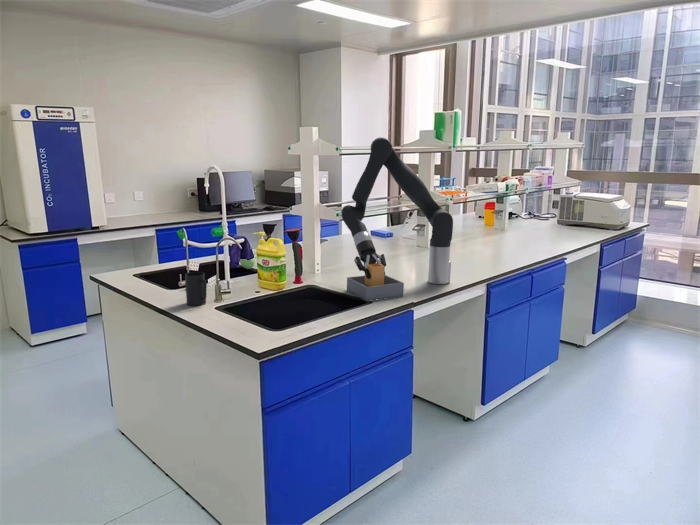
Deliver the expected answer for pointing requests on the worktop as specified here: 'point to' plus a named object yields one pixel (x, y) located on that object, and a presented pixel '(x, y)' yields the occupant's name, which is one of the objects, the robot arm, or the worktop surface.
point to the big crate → (375, 288)
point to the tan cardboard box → (375, 275)
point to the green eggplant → (248, 262)
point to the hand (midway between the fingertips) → (376, 277)
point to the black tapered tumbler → (195, 288)
